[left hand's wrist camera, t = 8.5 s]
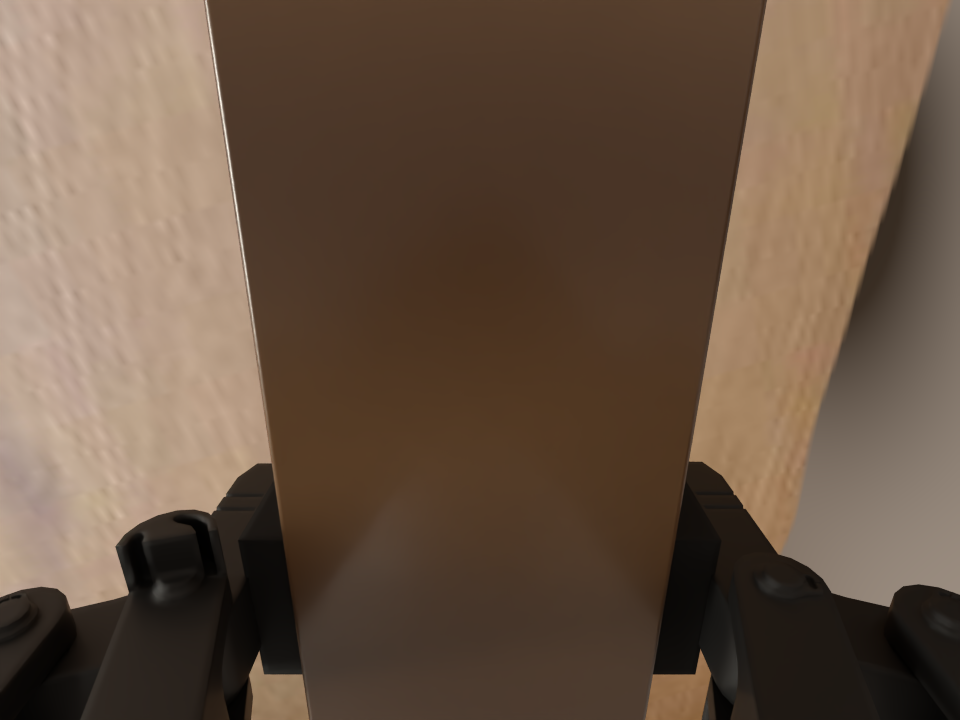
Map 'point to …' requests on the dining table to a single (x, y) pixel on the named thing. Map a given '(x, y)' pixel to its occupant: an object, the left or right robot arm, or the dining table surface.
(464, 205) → the post
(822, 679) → the left robot arm
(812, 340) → the dining table surface
